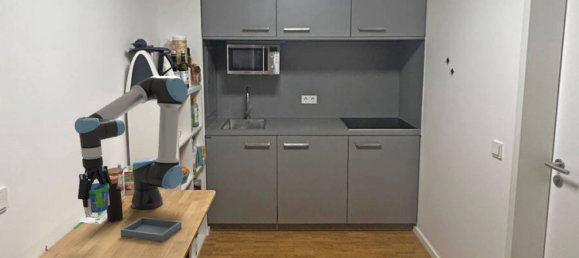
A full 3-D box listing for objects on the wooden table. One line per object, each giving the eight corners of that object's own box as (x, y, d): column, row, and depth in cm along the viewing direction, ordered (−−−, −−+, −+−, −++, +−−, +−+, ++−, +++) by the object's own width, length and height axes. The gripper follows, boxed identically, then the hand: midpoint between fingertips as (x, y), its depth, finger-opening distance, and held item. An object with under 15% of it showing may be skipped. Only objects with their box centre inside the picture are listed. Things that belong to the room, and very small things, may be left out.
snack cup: (83, 206, 190) (80, 183, 188) (109, 202, 195) (107, 179, 193) (84, 219, 176) (81, 194, 174) (113, 214, 181) (110, 189, 179)
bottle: (113, 216, 212) (109, 175, 209) (126, 217, 211) (122, 176, 207) (104, 221, 206) (100, 179, 202) (117, 222, 205) (114, 180, 201)
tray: (142, 223, 204) (142, 217, 203) (181, 228, 198) (181, 221, 197) (121, 236, 189) (120, 229, 189) (162, 242, 184) (162, 235, 183)
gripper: (103, 149, 193) (108, 199, 197) (63, 163, 172) (69, 218, 176) (118, 150, 191) (123, 201, 195) (79, 164, 169) (85, 220, 174)
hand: (97, 209), depth 185 cm, fingers closed on snack cup, 10 cm apart
